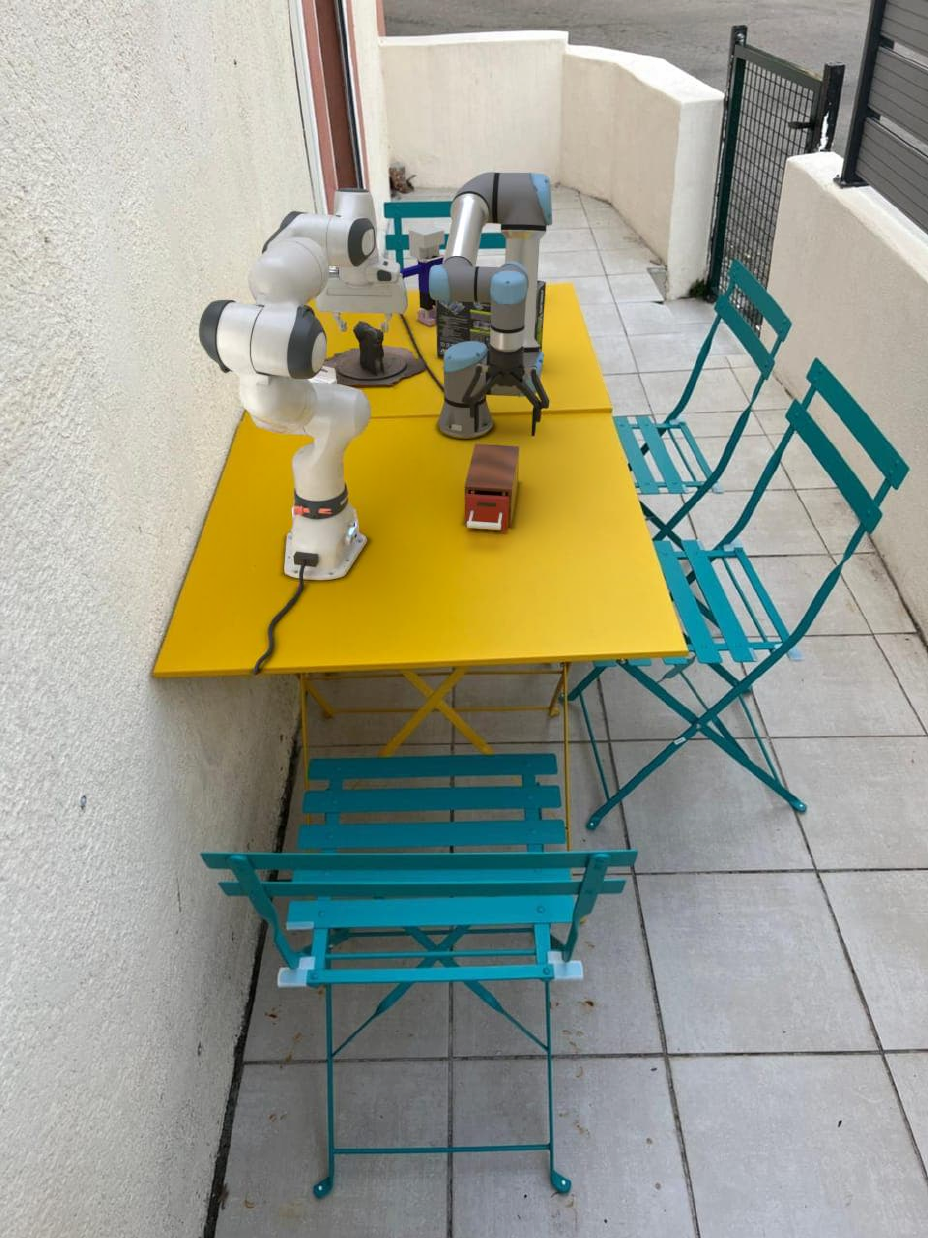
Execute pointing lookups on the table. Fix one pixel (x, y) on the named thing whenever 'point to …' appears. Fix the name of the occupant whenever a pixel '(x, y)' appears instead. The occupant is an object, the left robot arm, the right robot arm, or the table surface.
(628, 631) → the table surface
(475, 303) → the box
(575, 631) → the table surface
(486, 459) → the cabinet
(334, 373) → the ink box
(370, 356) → the sculpture
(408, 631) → the table surface
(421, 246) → the toy
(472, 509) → the drawer
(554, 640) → the table surface
